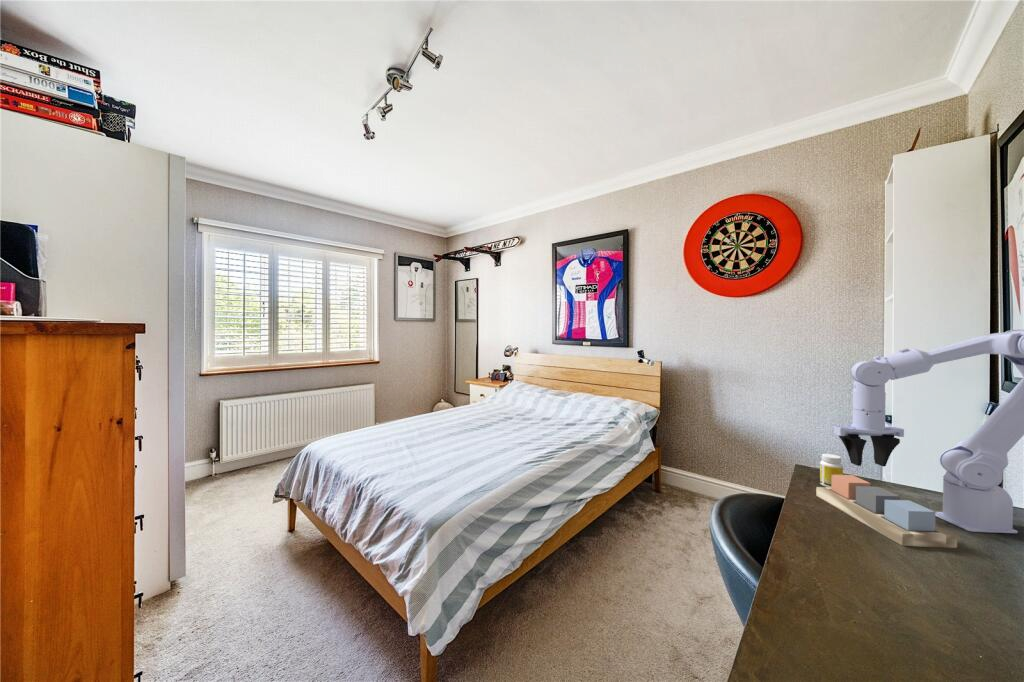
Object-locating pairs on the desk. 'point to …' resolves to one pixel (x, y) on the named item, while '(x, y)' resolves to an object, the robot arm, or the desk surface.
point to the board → (888, 523)
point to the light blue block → (909, 515)
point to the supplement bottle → (829, 468)
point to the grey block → (874, 498)
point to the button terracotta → (847, 485)
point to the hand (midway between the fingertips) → (868, 464)
